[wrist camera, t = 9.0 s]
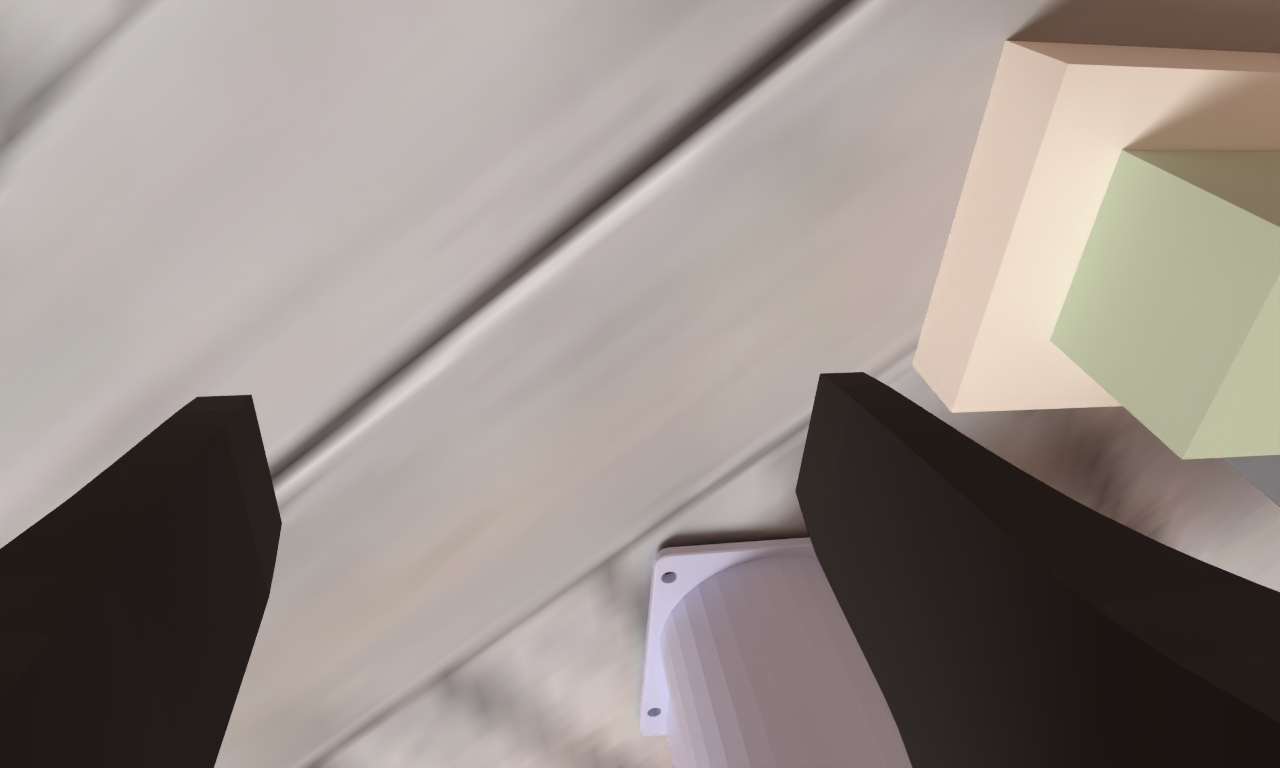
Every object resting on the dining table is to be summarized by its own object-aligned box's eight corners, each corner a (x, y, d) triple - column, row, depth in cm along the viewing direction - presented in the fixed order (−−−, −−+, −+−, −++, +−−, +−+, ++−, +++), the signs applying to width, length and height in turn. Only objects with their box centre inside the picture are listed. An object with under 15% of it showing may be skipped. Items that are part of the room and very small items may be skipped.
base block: (1165, 348, 26) (1237, 401, 24) (904, 355, 25) (951, 412, 22) (1309, 51, 21) (1417, 78, 19) (994, 36, 20) (1068, 64, 17)
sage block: (1219, 336, 22) (1385, 449, 18) (1050, 340, 21) (1182, 459, 17) (1311, 152, 19) (1532, 235, 15) (1121, 149, 19) (1299, 236, 14)
